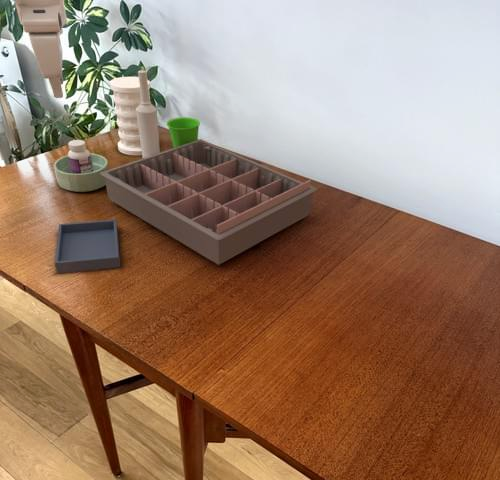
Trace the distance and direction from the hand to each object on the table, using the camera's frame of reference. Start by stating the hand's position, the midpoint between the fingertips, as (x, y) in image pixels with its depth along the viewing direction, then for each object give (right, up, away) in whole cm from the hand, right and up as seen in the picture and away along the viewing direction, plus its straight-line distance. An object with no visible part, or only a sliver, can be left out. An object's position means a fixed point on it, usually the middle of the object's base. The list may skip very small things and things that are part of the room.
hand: (59, 90), depth 100 cm
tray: (+7, -35, -1) cm, 35 cm away
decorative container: (+7, +3, +40) cm, 41 cm away
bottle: (+14, -8, +28) cm, 32 cm away
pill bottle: (-2, -12, +22) cm, 25 cm away
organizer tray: (+31, -23, +13) cm, 41 cm away
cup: (+23, -4, +33) cm, 41 cm away
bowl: (-2, -13, +22) cm, 25 cm away
